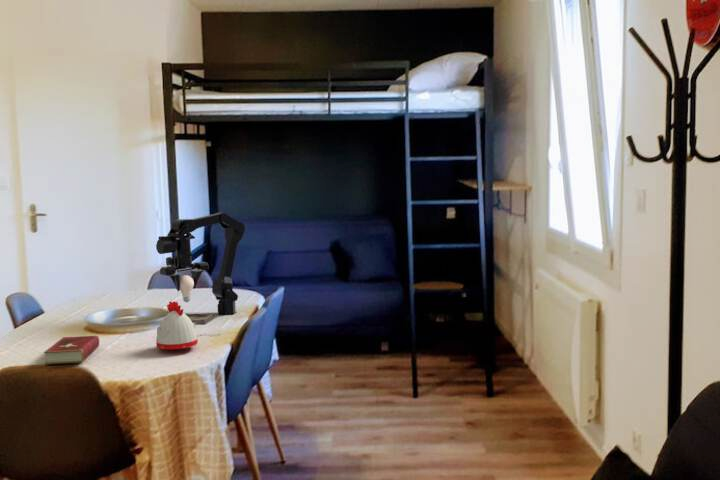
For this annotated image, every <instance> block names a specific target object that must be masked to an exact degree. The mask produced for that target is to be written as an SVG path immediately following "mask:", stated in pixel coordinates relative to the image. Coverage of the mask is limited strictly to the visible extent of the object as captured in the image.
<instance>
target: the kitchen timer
mask: <svg viewBox="0 0 720 480" xmlns="http://www.w3.org/2000/svg"><path fill="white" fill-rule="evenodd" d="M166 307H167V310H168V313H167V314H166V315H165V316H164V318H163V319H162V320H161V322H160V324H159V326H158V327H157V328H156V338H155V339H156V342H155V344H156V348H158V349H163V350H182V349H186V348H190V347H194V346H197V345H198V334H197V330H196V324H195V323H192V321H191V320H190V319H189V317H188V316H187V315H186V314H187V313H184V308H183V309H182V306H181V304H180V305H179V303H178V301H174V300H173V301H169V303H168V304H166Z"/></svg>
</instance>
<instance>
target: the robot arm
mask: <svg viewBox="0 0 720 480" xmlns="http://www.w3.org/2000/svg"><path fill="white" fill-rule="evenodd" d="M216 224H218V225H219V226H220V227H221V228H222V229H223V230H224V238H225V248H224V252H223V256H222V262H221V267H220V271H219V275H218V276H217V278H215V277H214V278H213V280H212V286H211V288H210V289H211V292H212V294H213V296H215V299H216V300H217V301H218V304H217V316H233V315H235V314H237V313H238V311H236V310H237V309H236V308H237V307H236V301H238V298H239V294H237V293H236V292H235V291H234V290H233V289H234V287H233V286H234V284H233V280H232V274H233V270H234V265H235V261H236V254H237V251H238V246H239V243H240V242H241V240H242V239H243V238H244V235H245V232H246V226H245V224H244V223H243V222H241V221H238V220H237V219H235V218H233V217H231V216H229V214H227V213H225V212H215V213H213V214H208V215H204V216H200V217H196V218H183V219H182V218H181V219H179V218H177V219H175V220H173V222H172V223H171V228H170V230H169V231H168V233H167V234H166V236H165V235H163V236H158V240H157V241H156V245H155V246H156V247H155V248H156V251H157V253H158V255H163V254H172V253H174V257H172V256H167V257H166V258H165V265H166V266H162V267H160V270H159V275H161V276H162V275H163V276H167V277H169V278H170V279H171V280H172V283H173V284H174V286H175V289H176V290H177V292H180V277H181V276H180V274H178V272H179V273H180V272H184V271H185V272H186V271H190V274H191V277H192V278H193V281H194V286H193V288H192V290H194V289H196V287H197V284H198V281H199V279H200V277H201V276H202V273H204V272H205V271H207V270H209V269H210V266H209V263H208V262H206V261H198V262H197V261H196V262H192V257H193V255H194V254H193V252H192V249H191V248H192V247H191V245H192V244H191V240H193V239H195V238H196V237H195V236H194V235H193V234H192V233H193V232H195V231H196V230H198V229H201V228H205V227H208V226H212V225H216Z"/></svg>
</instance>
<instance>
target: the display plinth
mask: <svg viewBox="0 0 720 480" xmlns="http://www.w3.org/2000/svg"><path fill="white" fill-rule="evenodd" d="M185 314H186V315H187V316H188V317H189V319H190V320H191V321H192V323H195V325H207V324H208V323H210V322H211V321H214V319H216V318H218V314H217V315H216V314H215V313H185Z"/></svg>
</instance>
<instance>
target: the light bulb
mask: <svg viewBox="0 0 720 480" xmlns="http://www.w3.org/2000/svg"><path fill="white" fill-rule="evenodd" d="M179 277H180V290H179V292H181V295H182V300H183V302H184V303H188V302H190V301H191V295H192V290H193V286H194V281H193V278H192V276H190V275H187V274H183V275H181V276H179Z"/></svg>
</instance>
